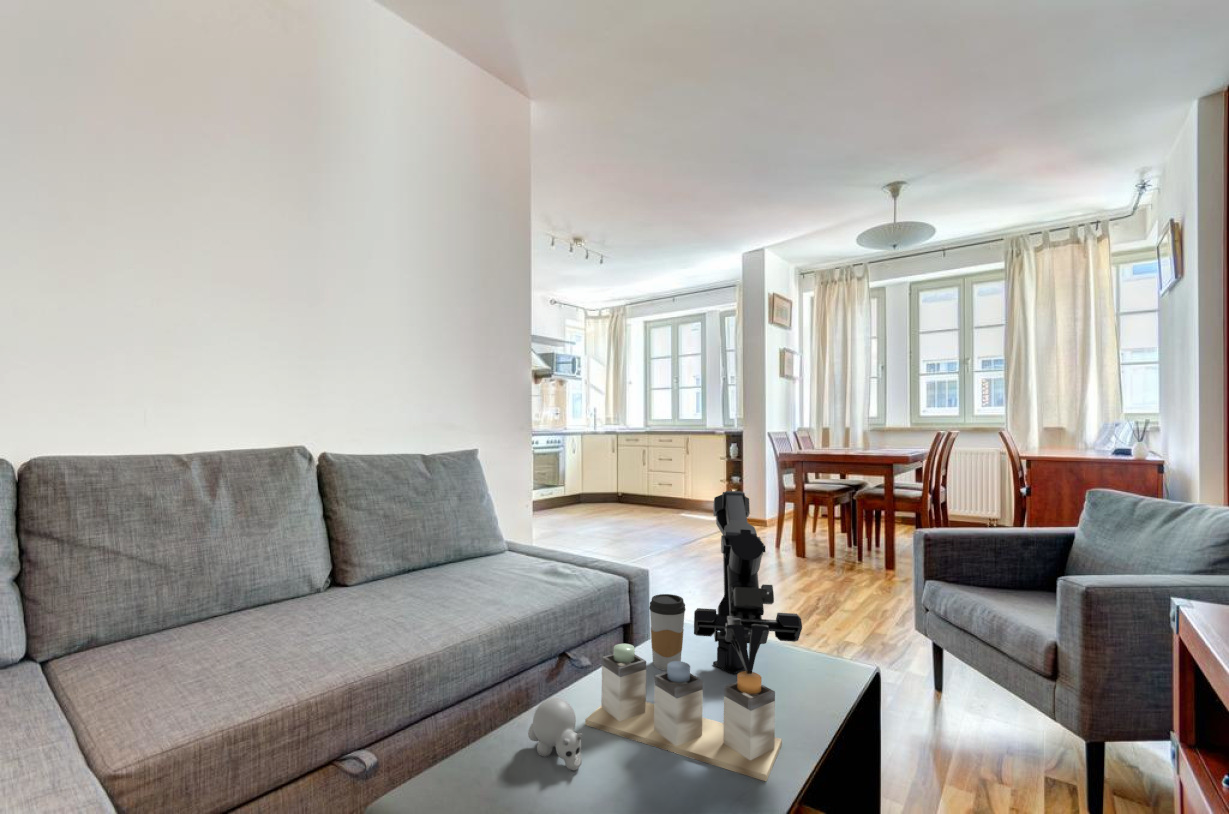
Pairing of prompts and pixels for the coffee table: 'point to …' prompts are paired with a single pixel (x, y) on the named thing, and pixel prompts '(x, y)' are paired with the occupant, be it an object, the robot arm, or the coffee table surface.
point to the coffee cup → (666, 628)
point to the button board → (691, 748)
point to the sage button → (624, 653)
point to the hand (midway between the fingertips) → (749, 673)
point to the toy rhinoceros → (557, 731)
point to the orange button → (749, 682)
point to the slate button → (678, 671)
